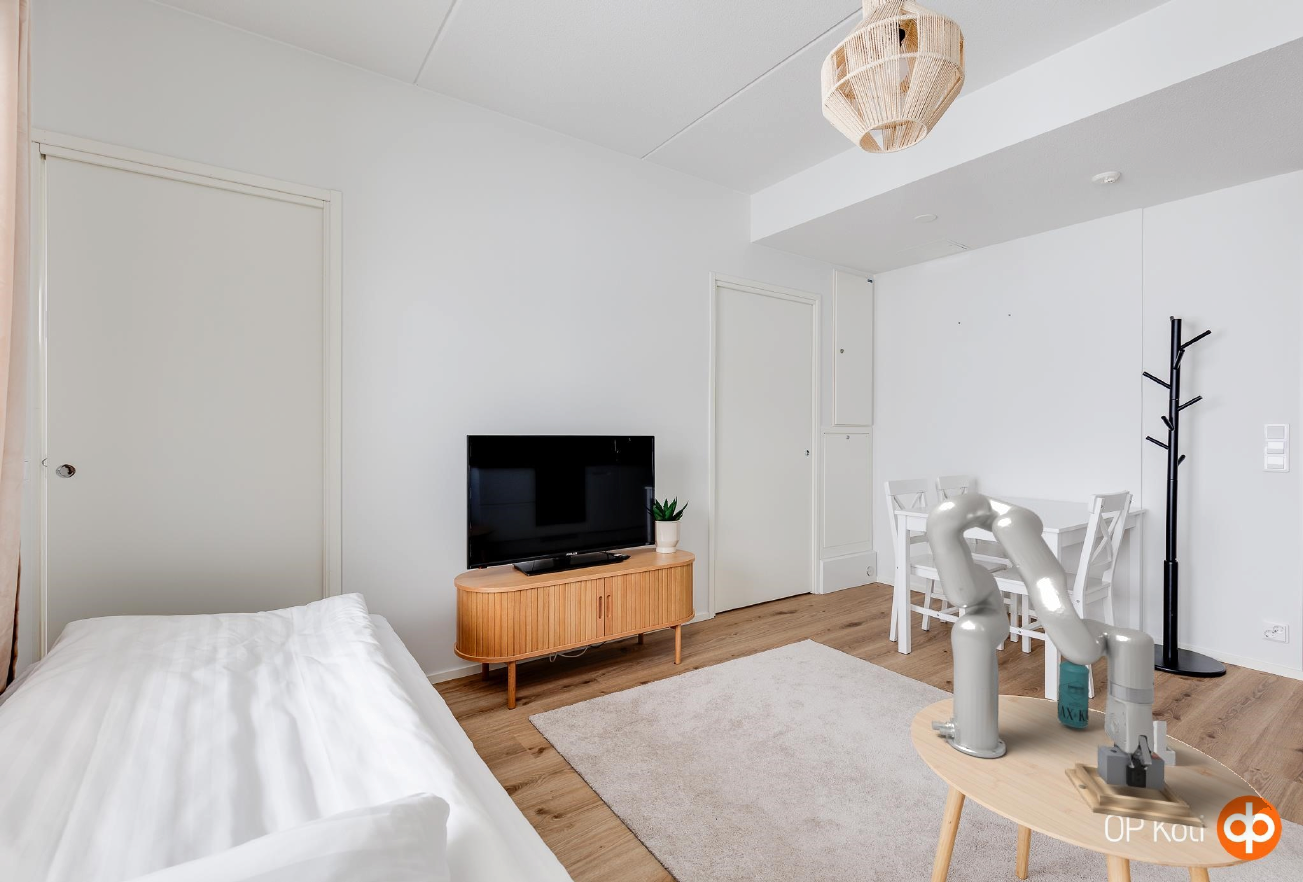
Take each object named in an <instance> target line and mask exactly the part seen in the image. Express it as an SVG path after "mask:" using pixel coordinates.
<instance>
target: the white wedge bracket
mask: <svg viewBox="0 0 1303 882" xmlns="http://www.w3.org/2000/svg"><path fill="white" fill-rule="evenodd" d="M1167 722H1168V721H1167V720H1166V721H1165V720H1153V728H1154V752H1155V753H1156V754H1157V755H1158V756H1159V757H1161V758H1162V759H1163V760H1164V761H1165V766H1168V767H1176V751H1174V750H1173V749H1172V748H1171V747H1169V746H1168V745H1167V731H1168V730H1167V726H1168V725H1167Z"/></svg>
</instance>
